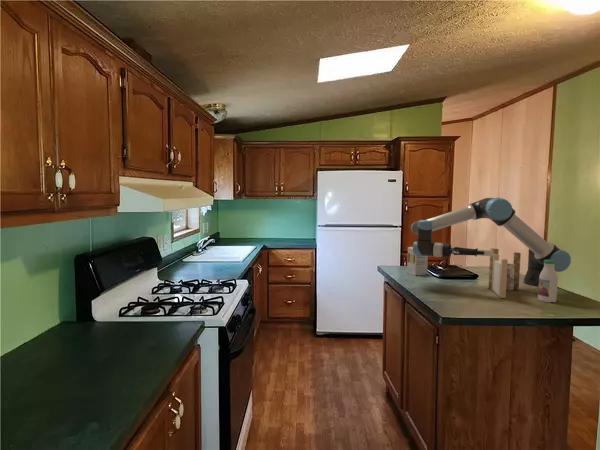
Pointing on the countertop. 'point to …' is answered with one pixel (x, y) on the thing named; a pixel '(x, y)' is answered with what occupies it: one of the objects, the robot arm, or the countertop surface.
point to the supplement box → (416, 263)
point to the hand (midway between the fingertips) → (491, 253)
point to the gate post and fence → (512, 269)
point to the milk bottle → (548, 282)
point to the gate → (499, 276)
